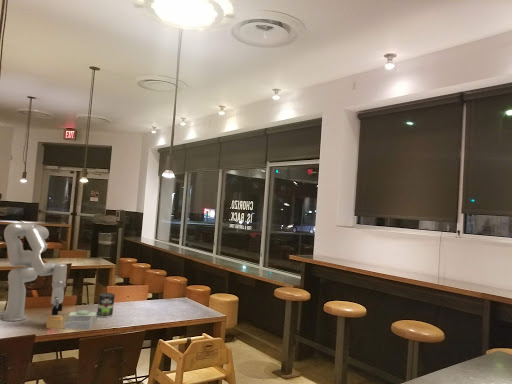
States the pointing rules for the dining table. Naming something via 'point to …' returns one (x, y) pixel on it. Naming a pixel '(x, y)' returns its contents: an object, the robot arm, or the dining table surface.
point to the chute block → (55, 322)
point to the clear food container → (83, 314)
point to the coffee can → (105, 305)
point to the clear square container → (79, 322)
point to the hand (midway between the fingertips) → (56, 312)
